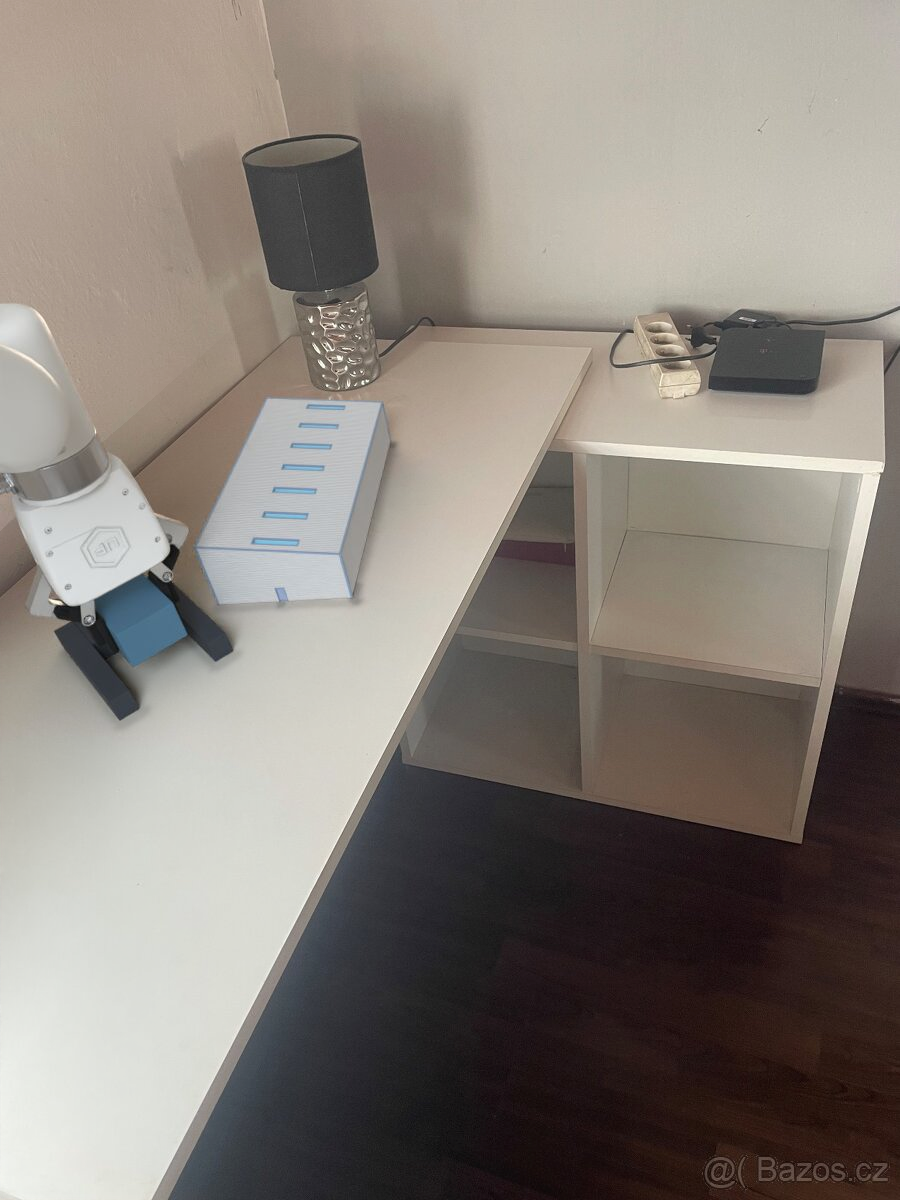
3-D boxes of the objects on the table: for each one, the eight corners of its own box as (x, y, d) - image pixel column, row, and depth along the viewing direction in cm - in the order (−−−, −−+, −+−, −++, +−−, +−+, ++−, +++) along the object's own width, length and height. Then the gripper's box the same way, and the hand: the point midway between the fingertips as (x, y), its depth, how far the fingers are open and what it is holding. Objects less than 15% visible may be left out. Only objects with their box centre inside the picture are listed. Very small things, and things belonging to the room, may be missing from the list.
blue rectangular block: (133, 667, 78) (116, 635, 75) (100, 629, 83) (83, 597, 80) (188, 635, 80) (173, 603, 78) (153, 599, 85) (137, 568, 82)
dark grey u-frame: (119, 721, 78) (108, 702, 77) (64, 648, 87) (53, 630, 86) (233, 651, 84) (225, 632, 82) (169, 589, 92) (161, 571, 91)
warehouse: (352, 598, 87) (336, 538, 82) (217, 605, 89) (193, 547, 84) (391, 441, 109) (380, 387, 104) (282, 450, 112) (266, 397, 107)
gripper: (-35, 533, 63) (70, 699, 75) (174, 433, 70) (239, 599, 82) (-63, 496, 68) (40, 657, 80) (135, 406, 75) (203, 566, 87)
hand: (140, 626), depth 81 cm, fingers closed on blue rectangular block, 5 cm apart
